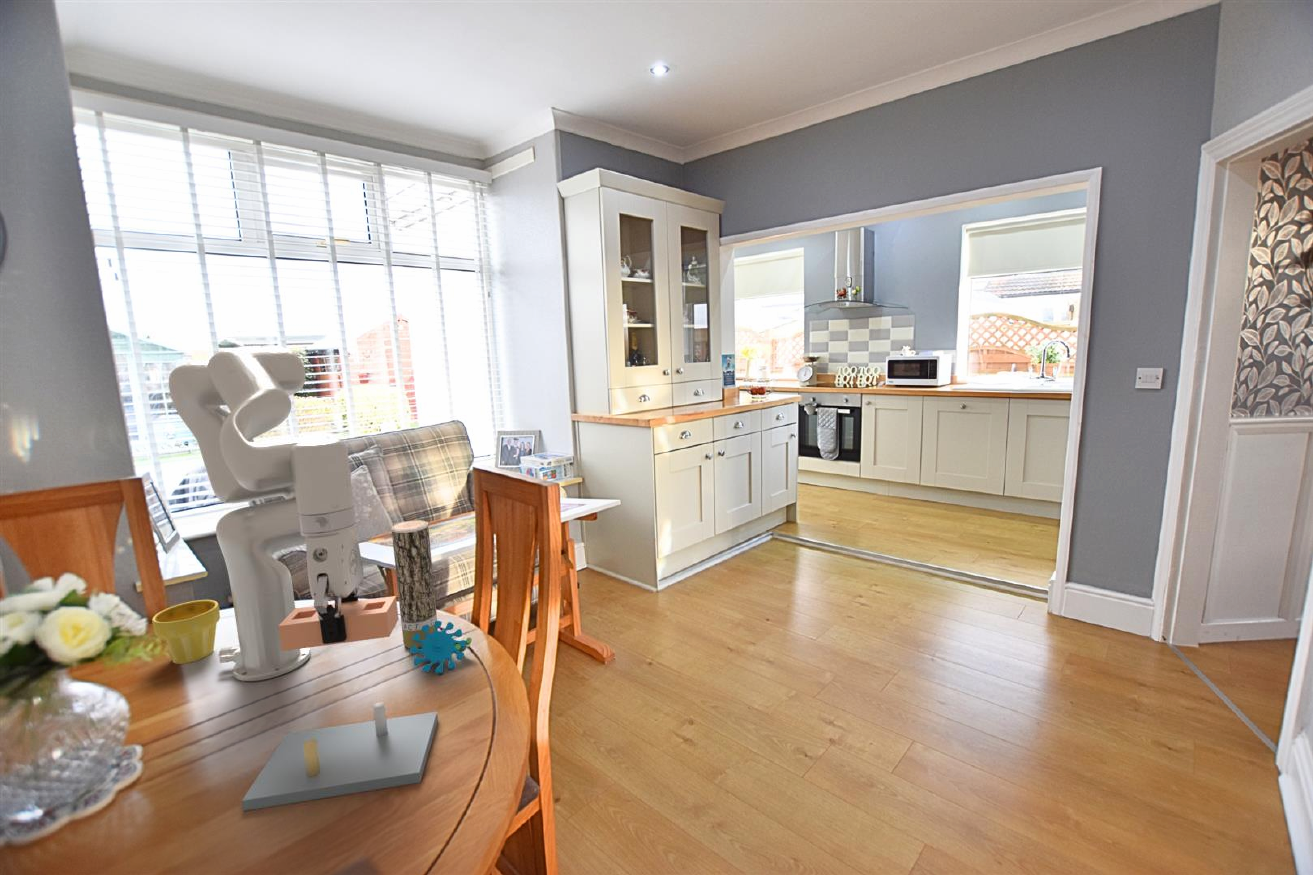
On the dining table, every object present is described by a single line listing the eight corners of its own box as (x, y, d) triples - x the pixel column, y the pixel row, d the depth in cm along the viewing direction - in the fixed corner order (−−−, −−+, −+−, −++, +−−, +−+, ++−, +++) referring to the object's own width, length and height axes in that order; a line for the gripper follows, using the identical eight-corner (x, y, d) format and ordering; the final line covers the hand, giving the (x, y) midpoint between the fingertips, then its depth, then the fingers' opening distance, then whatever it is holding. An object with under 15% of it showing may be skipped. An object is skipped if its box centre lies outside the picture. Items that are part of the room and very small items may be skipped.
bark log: (426, 631, 124) (415, 518, 121) (445, 639, 120) (434, 523, 117) (397, 644, 119) (384, 527, 115) (415, 653, 115) (403, 532, 111)
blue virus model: (410, 675, 104) (410, 621, 110) (407, 685, 108) (408, 633, 114) (473, 667, 109) (470, 616, 115) (469, 677, 113) (466, 627, 119)
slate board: (243, 810, 76) (236, 769, 75) (288, 741, 89) (283, 705, 89) (420, 782, 80) (416, 742, 79) (437, 720, 94) (434, 685, 93)
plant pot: (190, 671, 111) (182, 623, 110) (145, 667, 113) (137, 620, 112) (237, 644, 121) (230, 600, 120) (196, 641, 123) (189, 598, 122)
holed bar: (281, 651, 86) (278, 625, 86) (298, 632, 92) (295, 608, 92) (389, 636, 89) (386, 612, 89) (398, 619, 95) (395, 595, 95)
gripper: (336, 533, 81) (351, 654, 83) (370, 504, 98) (382, 605, 100) (276, 539, 79) (294, 662, 82) (321, 509, 96) (335, 611, 98)
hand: (342, 630), depth 91 cm, fingers closed on holed bar, 6 cm apart
